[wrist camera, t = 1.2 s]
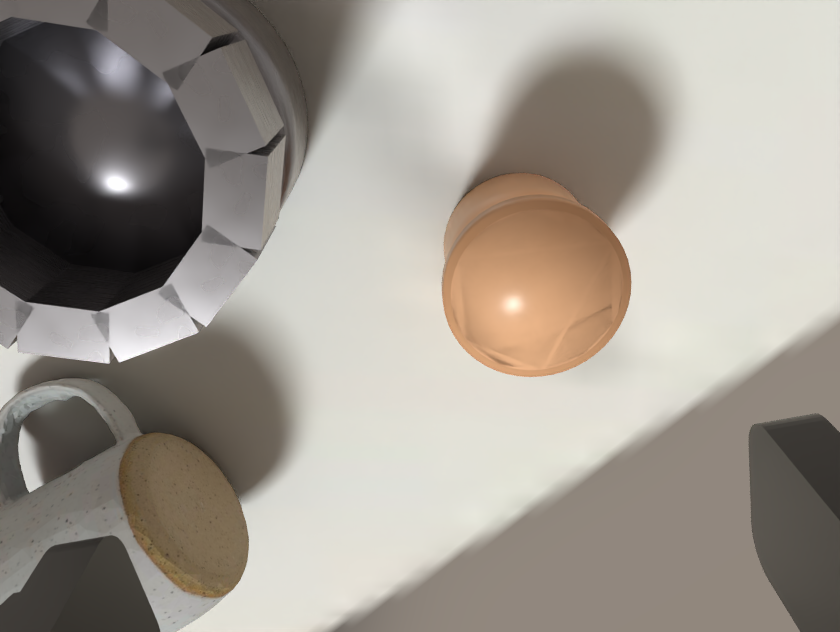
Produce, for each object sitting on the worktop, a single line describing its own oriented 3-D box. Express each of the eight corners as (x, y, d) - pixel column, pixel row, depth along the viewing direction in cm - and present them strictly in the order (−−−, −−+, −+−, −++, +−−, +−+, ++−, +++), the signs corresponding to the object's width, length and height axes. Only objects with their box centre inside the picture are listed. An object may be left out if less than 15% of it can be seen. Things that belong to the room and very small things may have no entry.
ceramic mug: (276, 511, 34) (239, 646, 27) (135, 594, 35) (65, 743, 28) (110, 326, 30) (17, 424, 23) (-37, 427, 32) (-166, 548, 25)
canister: (228, -91, 25) (137, -130, 16) (352, 196, 28) (330, 283, 20) (-41, 31, 26) (-251, 52, 18) (112, 290, 30) (-3, 408, 21)
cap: (569, 140, 28) (601, 171, 23) (614, 286, 30) (652, 341, 25) (413, 201, 28) (414, 242, 24) (468, 338, 31) (479, 400, 26)
